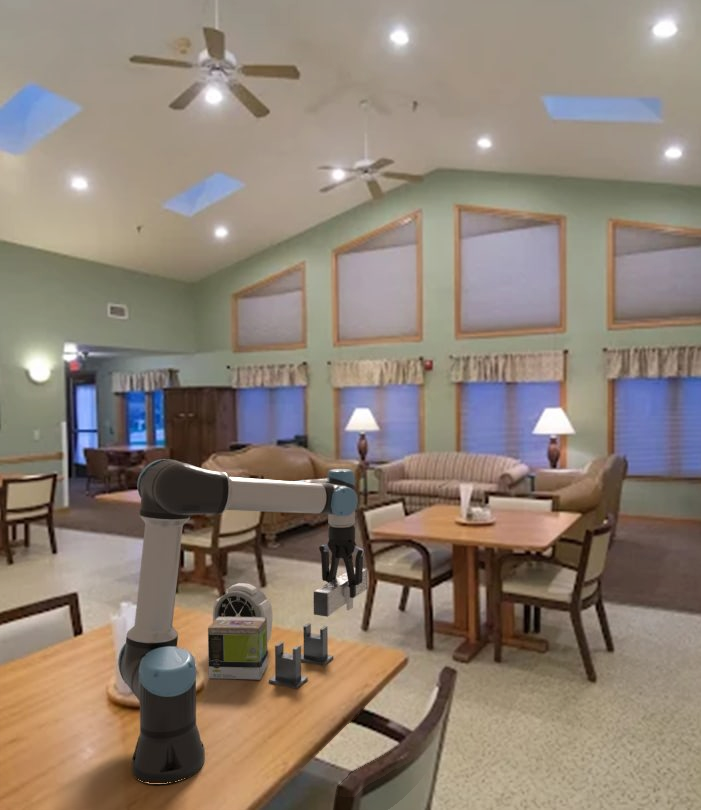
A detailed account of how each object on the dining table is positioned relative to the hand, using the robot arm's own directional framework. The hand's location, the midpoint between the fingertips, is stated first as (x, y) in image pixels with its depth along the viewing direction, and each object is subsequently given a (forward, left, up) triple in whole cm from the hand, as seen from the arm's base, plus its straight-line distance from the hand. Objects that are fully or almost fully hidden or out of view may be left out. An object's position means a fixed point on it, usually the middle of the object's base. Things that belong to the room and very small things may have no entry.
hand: (342, 607), depth 177 cm
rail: (0, 0, +2) cm, 2 cm away
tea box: (-9, +29, -20) cm, 36 cm away
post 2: (+8, +13, -20) cm, 25 cm away
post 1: (-8, +13, -20) cm, 25 cm away
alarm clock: (+6, +38, -20) cm, 43 cm away
